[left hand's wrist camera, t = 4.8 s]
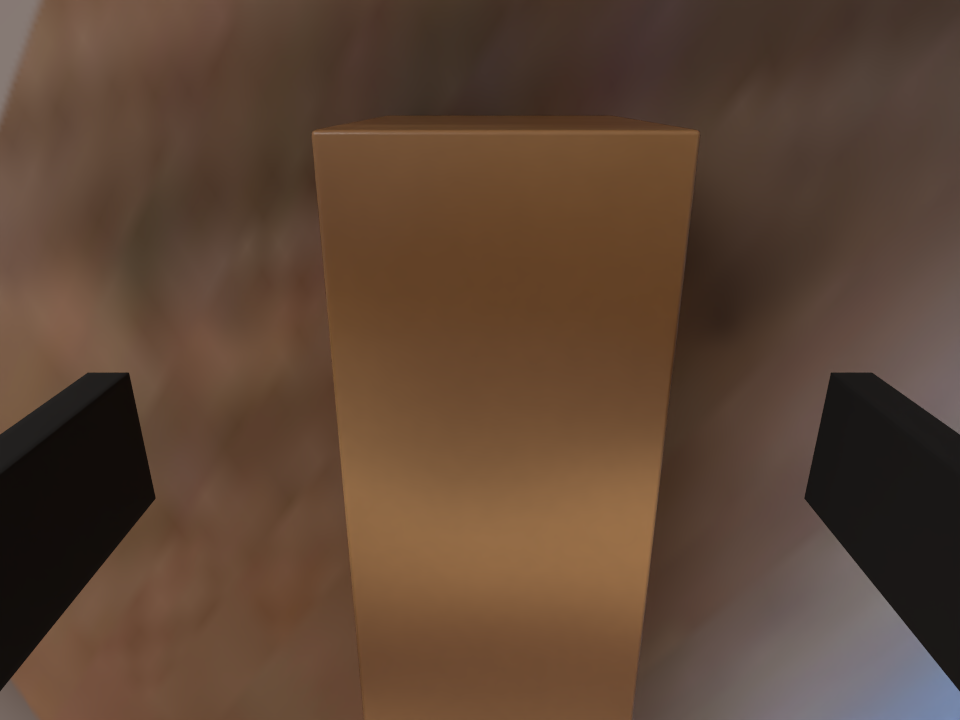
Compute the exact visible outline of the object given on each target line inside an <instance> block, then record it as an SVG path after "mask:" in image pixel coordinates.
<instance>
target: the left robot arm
mask: <svg viewBox="0 0 960 720" xmlns="http://www.w3.org/2000/svg"><path fill="white" fill-rule="evenodd" d="M804 499H805V500H806V501H807V502H808V503H809V505H810V506H811V507H812V508H813V510H814V511H815V512H816V513H817V515H818V516H819V517H820V518H821V520H822V521H823V522H824V523H825V525H826V526H827V527H828V528H829V530H830V531H831V532H832V533H833V534H834V536H835V537H836V538H837V539H838V541H839V542H840V543H841V544H842V546H843V547H844V548H845V549H846V551H847V552H848V553H849V554H850V556H851V557H852V558H853V559H854V561H855V562H856V563H857V564H858V566H859V567H860V568H861V569H862V570H863V572H864V573H865V574H866V575H867V577H868V578H869V579H870V580H871V582H872V583H873V584H874V585H875V587H876V588H877V589H878V590H879V592H880V593H881V594H882V595H883V597H884V598H885V599H886V600H887V601H888V603H889V604H890V605H891V606H892V608H893V609H894V610H895V611H896V613H897V614H898V615H899V616H900V618H901V619H902V620H903V621H904V623H905V624H906V625H907V626H908V628H909V629H910V630H911V631H912V633H913V634H914V635H915V636H916V637H917V639H918V640H919V641H920V642H921V644H922V645H923V646H924V647H925V649H926V650H927V651H928V652H929V654H930V655H931V656H932V657H933V659H934V660H935V661H936V662H937V664H938V665H939V666H940V667H941V669H942V670H943V671H944V672H945V673H946V675H947V676H948V677H949V678H950V680H951V681H952V682H953V683H954V685H955V686H956V687H957V688H958V690H959V691H960V435H959V434H958V433H957V432H955V431H954V430H952V429H951V428H950V427H948V426H947V425H945V424H944V423H942V422H941V421H940V420H938V419H937V418H935V417H934V416H933V415H931V414H930V413H928V412H927V411H926V410H924V409H923V408H921V407H920V406H918V405H917V404H916V403H914V402H913V401H911V400H910V399H909V398H907V397H906V396H904V395H903V394H901V393H900V392H899V391H897V390H896V389H894V388H893V387H892V386H890V385H889V384H887V383H886V382H884V381H883V380H882V379H880V378H879V377H877V376H876V375H875V374H873V373H831V375H830V380H829V385H828V390H827V394H826V399H825V404H824V408H823V413H822V418H821V423H820V427H819V432H818V437H817V442H816V446H815V451H814V456H813V460H812V465H811V470H810V475H809V479H808V484H807V489H806V493H805V498H804ZM154 500H155V493H154V489H153V484H152V479H151V475H150V470H149V465H148V460H147V456H146V451H145V446H144V442H143V437H142V432H141V427H140V423H139V418H138V413H137V409H136V404H135V399H134V394H133V390H132V385H131V380H130V375H129V373H87V374H85V375H84V376H83V377H81V378H80V379H78V380H77V381H76V382H74V383H73V384H71V385H70V386H68V387H67V388H66V389H64V390H63V391H61V392H60V393H59V394H57V395H56V396H54V397H53V398H51V399H50V400H49V401H47V402H46V403H44V404H43V405H42V406H40V407H39V408H37V409H36V410H34V411H33V412H32V413H30V414H29V415H27V416H26V417H25V418H23V419H22V420H20V421H19V422H17V423H16V424H15V425H13V426H12V427H10V428H9V429H8V430H6V431H5V432H3V433H2V434H1V435H0V691H1V690H2V688H3V687H4V686H5V685H6V683H7V682H8V681H9V680H10V678H11V677H12V676H13V675H14V673H15V672H16V671H17V670H18V669H19V667H20V666H21V665H22V664H23V662H24V661H25V660H26V659H27V657H28V656H29V655H30V654H31V652H32V651H33V650H34V649H35V647H36V646H37V645H38V644H39V642H40V641H41V640H42V639H43V637H44V636H45V635H46V634H47V633H48V631H49V630H50V629H51V628H52V626H53V625H54V624H55V623H56V621H57V620H58V619H59V618H60V616H61V615H62V614H63V613H64V611H65V610H66V609H67V608H68V606H69V605H70V604H71V603H72V601H73V600H74V599H75V598H76V597H77V595H78V594H79V593H80V592H81V590H82V589H83V588H84V587H85V585H86V584H87V583H88V582H89V580H90V579H91V578H92V577H93V575H94V574H95V573H96V572H97V570H98V569H99V568H100V567H101V566H102V564H103V563H104V562H105V561H106V559H107V558H108V557H109V556H110V554H111V553H112V552H113V551H114V549H115V548H116V547H117V546H118V544H119V543H120V542H121V541H122V539H123V538H124V537H125V536H126V534H127V533H128V532H129V531H130V530H131V528H132V527H133V526H134V525H135V523H136V522H137V521H138V520H139V518H140V517H141V516H142V515H143V513H144V512H145V511H146V510H147V508H148V507H149V506H150V505H151V503H152V502H153V501H154Z"/></svg>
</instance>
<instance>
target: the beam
mask: <svg viewBox="0 0 960 720" xmlns="http://www.w3.org/2000/svg"><path fill="white" fill-rule="evenodd" d="M699 143H700V132H699V131H697V130H694V129H688V128H682V127H676V126H670V125H664V124H658V123H653V122H647V121H641V120H635V119H629V118H623V117H617V116H383V117H378V118H373V119H368V120H363V121H358V122H352V123H347V124H342V125H337V126H332V127H327V128H322V129H317V130H314V131H313V132H312V146H313V157H314V168H315V179H316V191H317V202H318V213H319V224H320V235H321V247H322V258H323V269H324V280H325V291H326V303H327V314H328V325H329V336H330V348H331V359H332V370H333V381H334V392H335V404H336V415H337V426H338V437H339V448H340V460H341V471H342V482H343V493H344V504H345V516H346V527H347V538H348V549H349V561H350V572H351V583H352V594H353V605H354V617H355V628H356V639H357V650H358V661H359V673H360V684H361V695H362V706H363V717H364V720H632V718H633V709H634V701H635V692H636V684H637V675H638V666H639V658H640V649H641V641H642V632H643V623H644V615H645V606H646V598H647V589H648V581H649V572H650V563H651V555H652V546H653V538H654V529H655V521H656V512H657V503H658V495H659V486H660V478H661V469H662V460H663V452H664V443H665V435H666V426H667V418H668V409H669V400H670V392H671V383H672V375H673V366H674V358H675V349H676V340H677V332H678V323H679V315H680V306H681V297H682V289H683V280H684V272H685V263H686V255H687V246H688V237H689V229H690V220H691V212H692V203H693V195H694V186H695V177H696V169H697V160H698V152H699Z"/></svg>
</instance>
